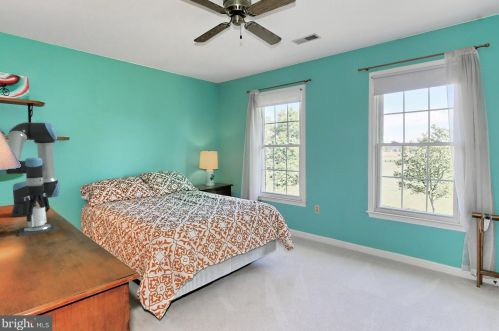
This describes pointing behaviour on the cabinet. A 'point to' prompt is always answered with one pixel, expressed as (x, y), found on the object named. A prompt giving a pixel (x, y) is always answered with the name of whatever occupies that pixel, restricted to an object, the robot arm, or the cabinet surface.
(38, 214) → the white cup
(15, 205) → the robot arm
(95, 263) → the cabinet surface
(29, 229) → the duct collar
